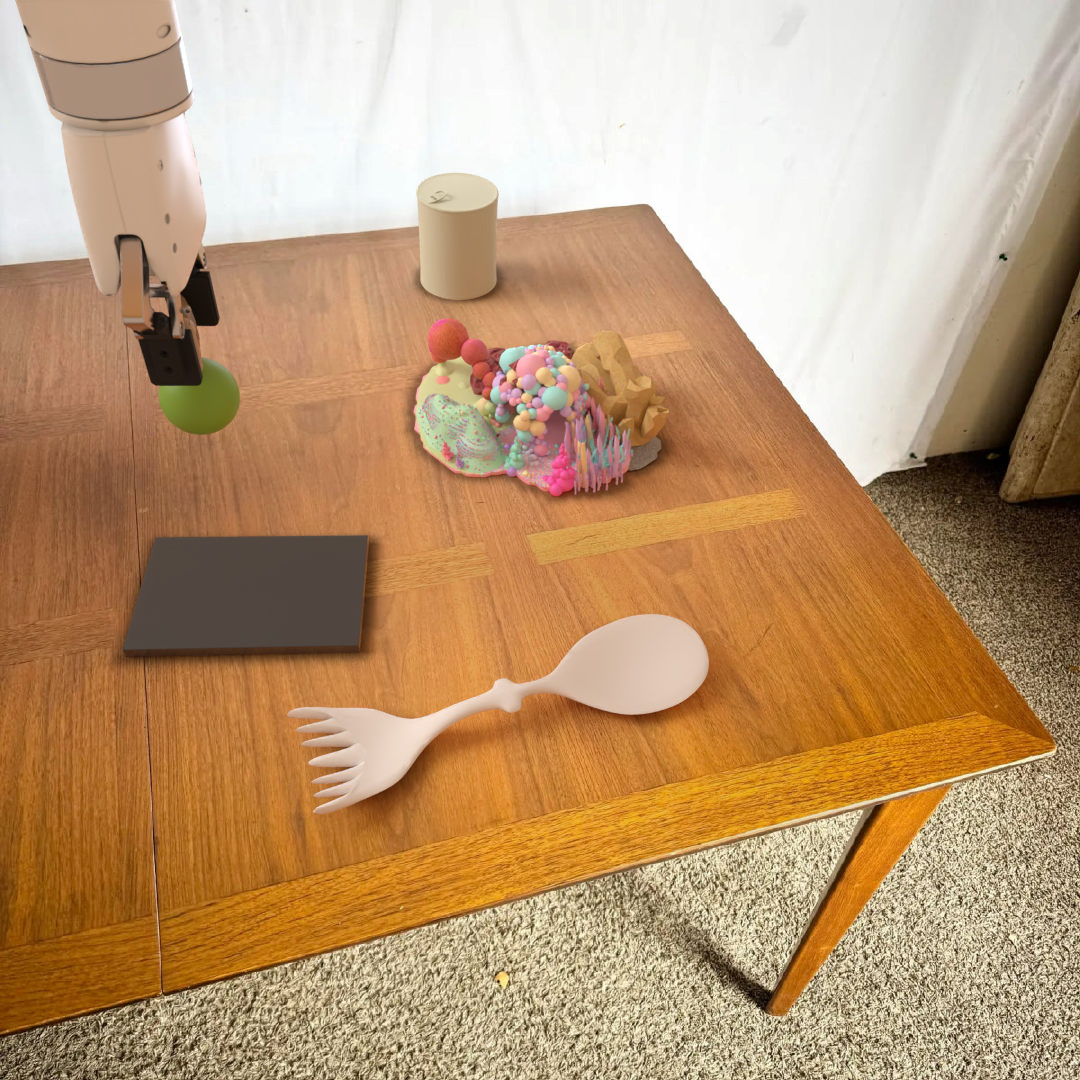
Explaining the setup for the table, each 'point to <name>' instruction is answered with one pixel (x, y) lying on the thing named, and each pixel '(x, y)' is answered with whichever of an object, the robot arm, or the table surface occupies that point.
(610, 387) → the candy landscape model
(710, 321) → the table surface
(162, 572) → the slate board
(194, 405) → the apple with worm toy
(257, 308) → the table surface
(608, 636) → the spoon
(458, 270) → the can
